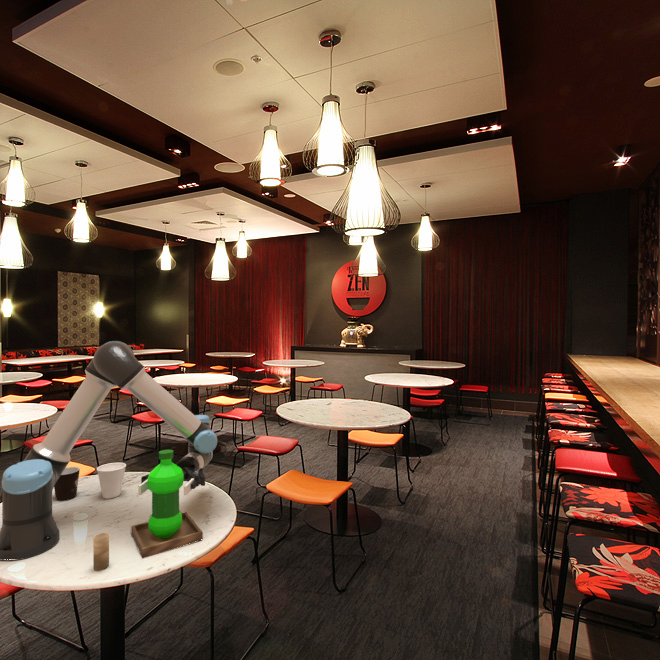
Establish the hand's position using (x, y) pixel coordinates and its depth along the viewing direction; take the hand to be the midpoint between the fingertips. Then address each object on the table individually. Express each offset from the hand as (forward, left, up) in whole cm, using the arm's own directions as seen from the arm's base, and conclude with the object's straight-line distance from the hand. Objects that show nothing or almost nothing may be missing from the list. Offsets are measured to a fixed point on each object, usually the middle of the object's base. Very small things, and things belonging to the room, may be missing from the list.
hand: (162, 490), depth 121 cm
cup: (-7, +47, -15) cm, 50 cm away
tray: (+2, +2, -15) cm, 15 cm away
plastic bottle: (+2, +3, -15) cm, 15 cm away
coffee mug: (-20, +56, -15) cm, 61 cm away
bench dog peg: (-16, -4, -15) cm, 23 cm away
